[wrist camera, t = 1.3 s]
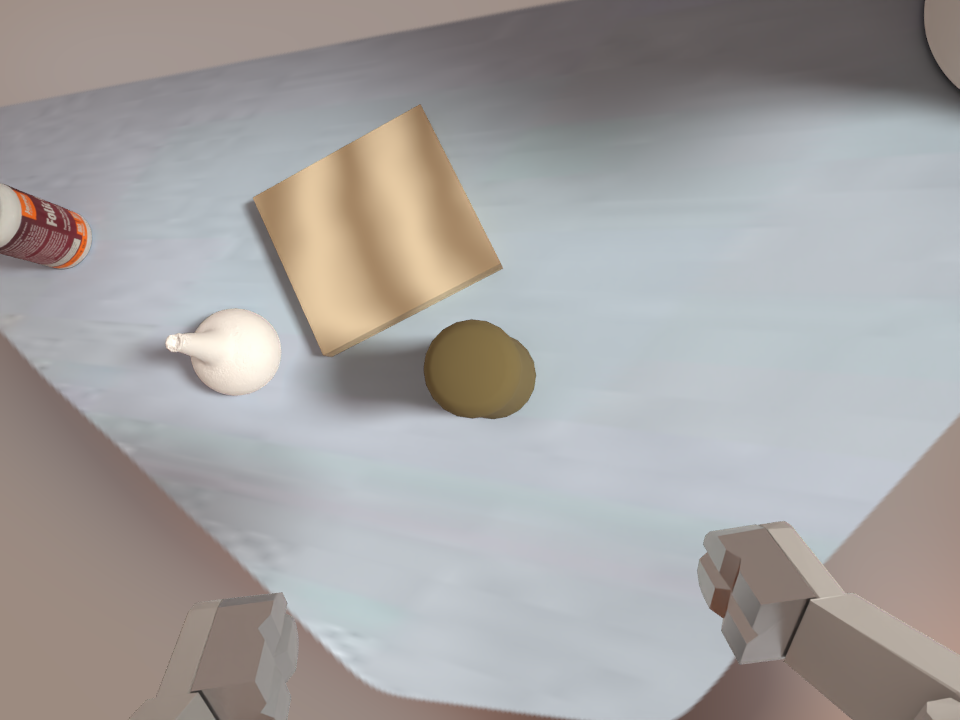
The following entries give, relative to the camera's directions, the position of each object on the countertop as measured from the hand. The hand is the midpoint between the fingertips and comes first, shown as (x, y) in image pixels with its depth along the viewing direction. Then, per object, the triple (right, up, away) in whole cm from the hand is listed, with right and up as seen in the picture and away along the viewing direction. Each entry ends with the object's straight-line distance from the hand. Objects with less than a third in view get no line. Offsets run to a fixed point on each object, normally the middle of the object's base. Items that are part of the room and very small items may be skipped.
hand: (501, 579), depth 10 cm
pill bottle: (-33, +14, +33) cm, 49 cm away
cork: (+1, +3, +27) cm, 28 cm away
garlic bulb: (-18, +5, +30) cm, 35 cm away
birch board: (-8, +13, +29) cm, 33 cm away
